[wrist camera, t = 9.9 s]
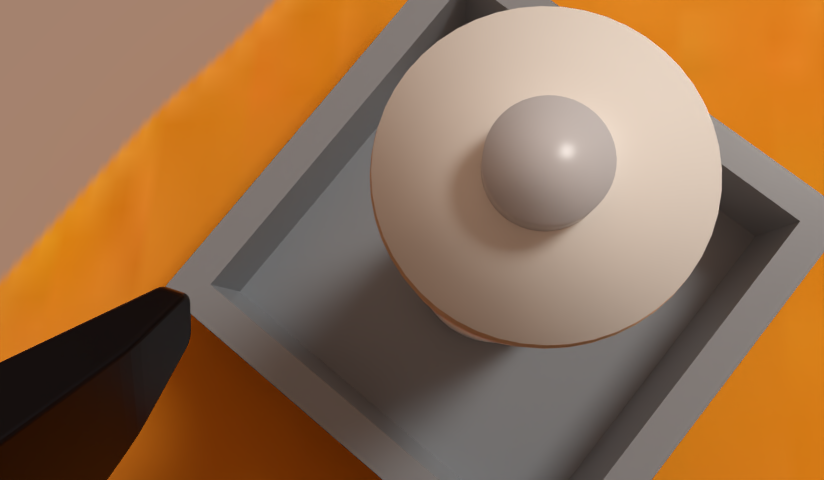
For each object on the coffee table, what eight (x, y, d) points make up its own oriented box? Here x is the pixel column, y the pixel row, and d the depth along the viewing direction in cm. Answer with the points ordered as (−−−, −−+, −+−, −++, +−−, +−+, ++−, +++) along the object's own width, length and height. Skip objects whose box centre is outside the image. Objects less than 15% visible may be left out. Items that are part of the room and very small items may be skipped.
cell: (584, 334, 22) (778, 323, 9) (426, 353, 23) (384, 372, 9) (560, 180, 23) (704, -43, 10) (408, 200, 23) (343, 10, 10)
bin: (530, 576, 22) (545, 620, 19) (204, 296, 24) (162, 289, 20) (790, 234, 23) (851, 215, 20) (460, -8, 25) (462, -64, 22)
